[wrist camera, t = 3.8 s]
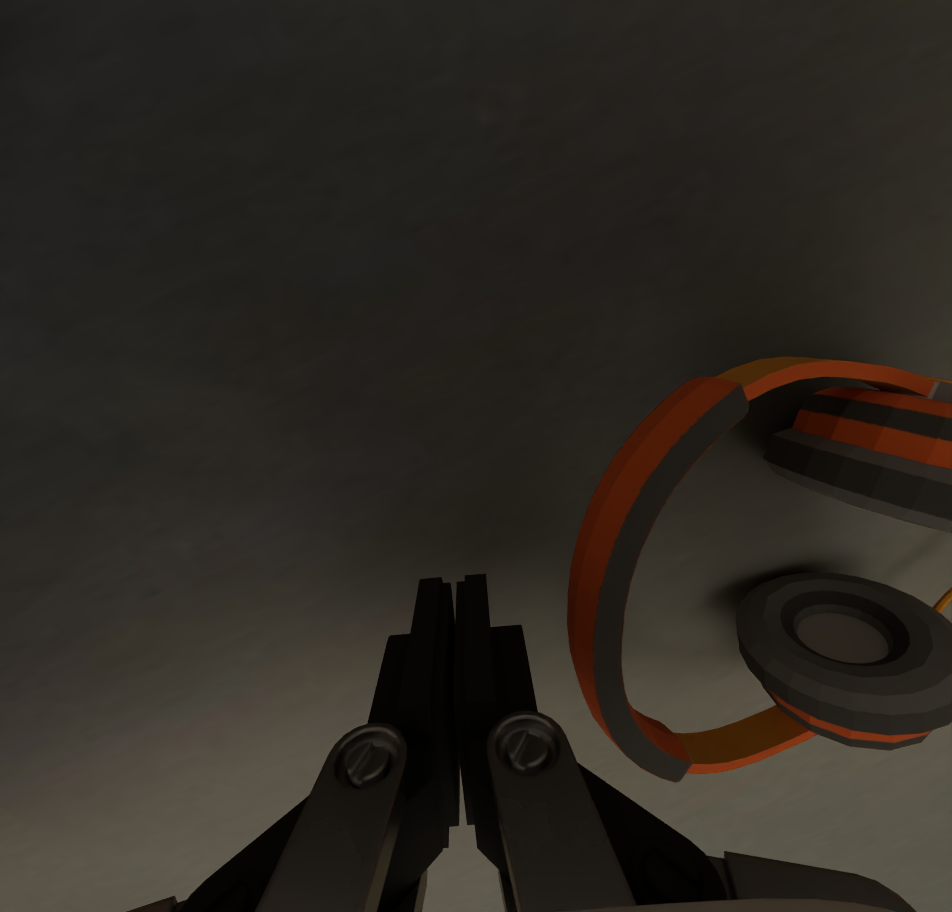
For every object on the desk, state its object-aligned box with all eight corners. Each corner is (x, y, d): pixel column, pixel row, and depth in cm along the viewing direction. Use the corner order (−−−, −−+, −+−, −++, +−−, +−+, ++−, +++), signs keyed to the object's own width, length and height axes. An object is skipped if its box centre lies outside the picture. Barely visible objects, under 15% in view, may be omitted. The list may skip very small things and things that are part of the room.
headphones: (1105, 241, 15) (536, 235, 10) (1468, 205, 10) (699, 166, 6) (956, 657, 20) (531, 776, 16) (1151, 768, 15) (612, 988, 11)
